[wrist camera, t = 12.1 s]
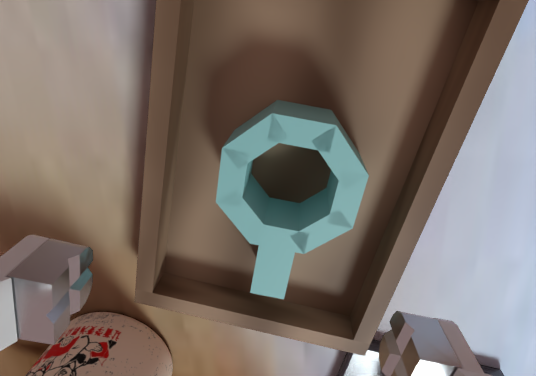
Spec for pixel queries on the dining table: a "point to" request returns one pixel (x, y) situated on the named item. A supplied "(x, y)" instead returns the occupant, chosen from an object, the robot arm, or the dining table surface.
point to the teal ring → (281, 211)
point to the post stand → (368, 367)
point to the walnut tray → (304, 159)
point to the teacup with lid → (105, 349)
